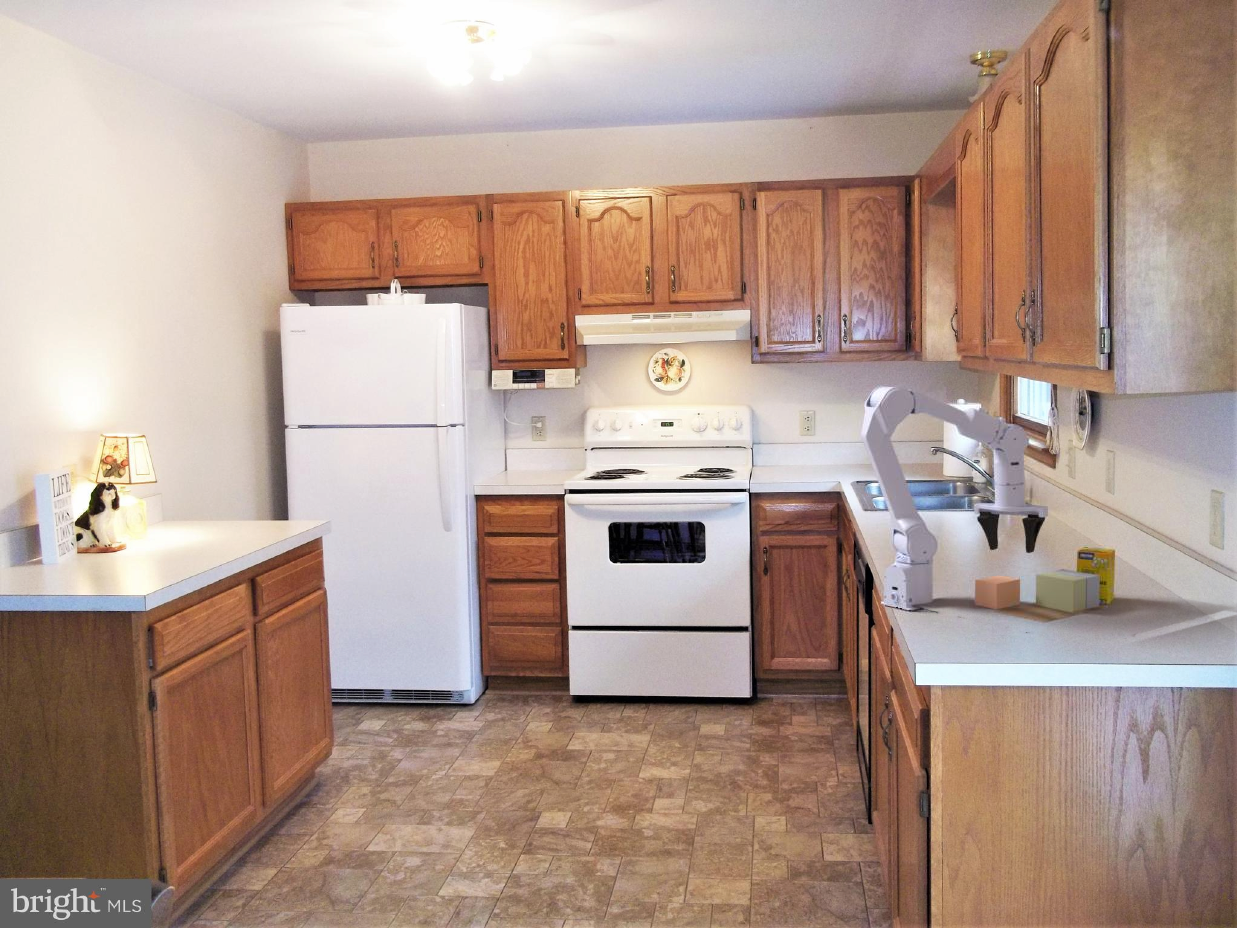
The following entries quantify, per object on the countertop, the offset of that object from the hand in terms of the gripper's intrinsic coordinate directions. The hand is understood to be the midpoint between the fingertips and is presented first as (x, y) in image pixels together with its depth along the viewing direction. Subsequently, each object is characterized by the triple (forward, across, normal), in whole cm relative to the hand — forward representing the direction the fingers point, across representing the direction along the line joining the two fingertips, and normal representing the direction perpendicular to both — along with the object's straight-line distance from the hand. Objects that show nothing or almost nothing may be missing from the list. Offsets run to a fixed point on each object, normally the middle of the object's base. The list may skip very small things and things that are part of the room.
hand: (1011, 550), depth 221 cm
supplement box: (+11, -14, -6) cm, 19 cm away
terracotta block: (+10, -1, +10) cm, 14 cm away
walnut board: (+10, -11, +7) cm, 17 cm away
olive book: (+9, -12, +5) cm, 16 cm away
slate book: (+9, -12, 0) cm, 16 cm away
